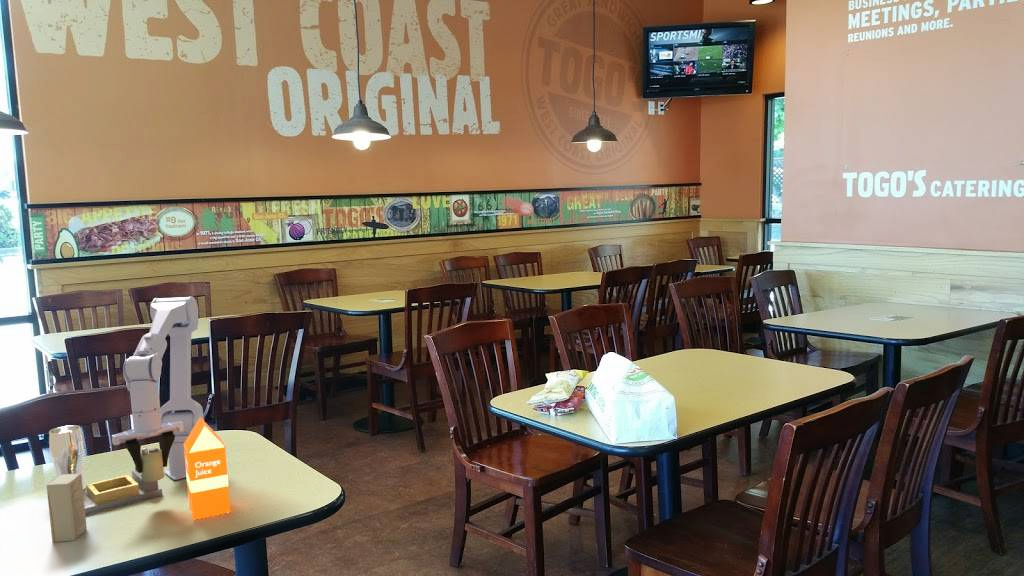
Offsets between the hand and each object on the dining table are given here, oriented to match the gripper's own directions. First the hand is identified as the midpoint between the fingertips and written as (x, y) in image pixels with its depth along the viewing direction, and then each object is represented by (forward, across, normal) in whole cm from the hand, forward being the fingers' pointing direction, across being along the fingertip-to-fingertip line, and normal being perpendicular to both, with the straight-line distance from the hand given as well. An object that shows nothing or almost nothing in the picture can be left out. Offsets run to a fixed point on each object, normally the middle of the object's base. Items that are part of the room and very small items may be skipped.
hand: (151, 468), depth 178 cm
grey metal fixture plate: (+8, -6, +11) cm, 15 cm away
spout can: (+2, 0, 0) cm, 2 cm away
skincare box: (+8, -18, -5) cm, 21 cm away
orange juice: (+8, +8, -12) cm, 17 cm away
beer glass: (+9, -12, +25) cm, 29 cm away
